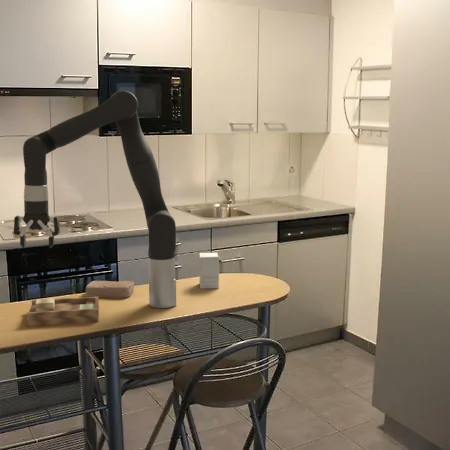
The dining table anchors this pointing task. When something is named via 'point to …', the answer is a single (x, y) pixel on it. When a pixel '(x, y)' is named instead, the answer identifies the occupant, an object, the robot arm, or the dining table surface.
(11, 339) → the dining table surface
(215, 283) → the supplement box
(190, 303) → the dining table surface
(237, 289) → the dining table surface
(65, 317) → the tray
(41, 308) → the block
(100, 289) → the brick
